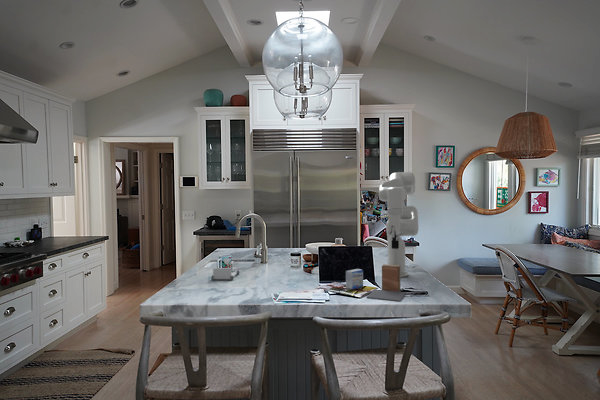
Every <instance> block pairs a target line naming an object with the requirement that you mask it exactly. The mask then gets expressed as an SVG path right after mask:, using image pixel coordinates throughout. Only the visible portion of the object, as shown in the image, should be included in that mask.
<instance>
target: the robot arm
mask: <svg viewBox="0 0 600 400" xmlns="http://www.w3.org/2000/svg"><path fill="white" fill-rule="evenodd" d="M388 177H389V178H388V180H386V181H384V182H382V183H381V184H380V185H379V188H378V199H379V201H382V202H387V204H386V205H387V208H386V209H387V213H386V214H387V215H388V219H387V221H386V223H385V230H386V236H387V237H386V239H387V265H400V278H404V277H407V276H409V272H407V271H406V244H405V241H404V239H403V238H402V237H403V236H404V237H415V236H417V235H418V233H419V215H418V208H416V206H414V205H405V202H404V201H405V200H406V199H407V198H408V197H407V196H411V195H414V194H415V192H416V177H415V174H414V173H413V172H411V171H401V172H400V171H398V172H397V171H396V172H393V173H391V174H390V175H389V176H388Z"/></svg>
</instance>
